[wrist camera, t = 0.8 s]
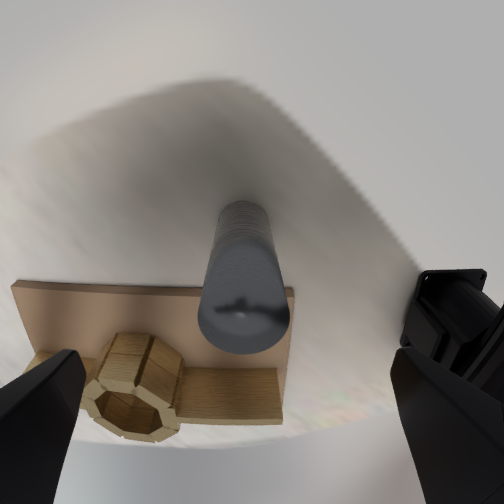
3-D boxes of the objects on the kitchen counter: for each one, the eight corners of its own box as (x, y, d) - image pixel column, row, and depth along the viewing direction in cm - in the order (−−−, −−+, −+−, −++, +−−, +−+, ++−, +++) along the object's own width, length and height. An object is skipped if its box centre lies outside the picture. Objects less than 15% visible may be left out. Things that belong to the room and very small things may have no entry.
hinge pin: (269, 201, 17) (293, 278, 9) (267, 249, 18) (286, 354, 10) (217, 200, 17) (194, 278, 9) (218, 248, 18) (200, 353, 10)
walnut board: (292, 288, 19) (294, 297, 18) (278, 411, 24) (279, 420, 23) (17, 280, 19) (10, 286, 18) (61, 392, 23) (58, 400, 23)
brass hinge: (279, 336, 20) (287, 387, 15) (273, 399, 22) (278, 447, 18) (27, 320, 19) (-2, 357, 15) (53, 379, 21) (32, 416, 17)
